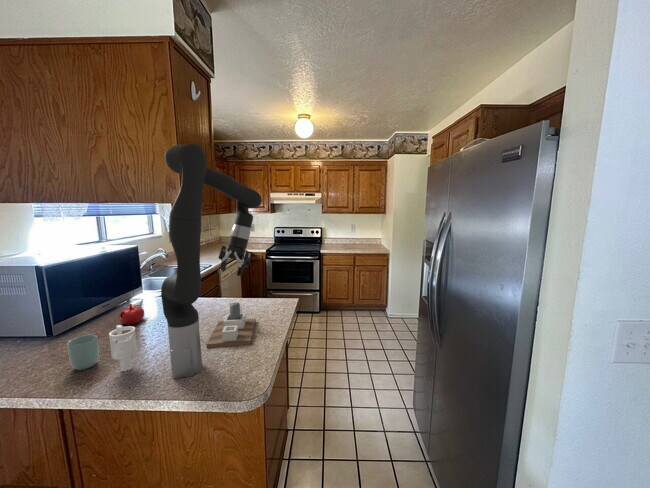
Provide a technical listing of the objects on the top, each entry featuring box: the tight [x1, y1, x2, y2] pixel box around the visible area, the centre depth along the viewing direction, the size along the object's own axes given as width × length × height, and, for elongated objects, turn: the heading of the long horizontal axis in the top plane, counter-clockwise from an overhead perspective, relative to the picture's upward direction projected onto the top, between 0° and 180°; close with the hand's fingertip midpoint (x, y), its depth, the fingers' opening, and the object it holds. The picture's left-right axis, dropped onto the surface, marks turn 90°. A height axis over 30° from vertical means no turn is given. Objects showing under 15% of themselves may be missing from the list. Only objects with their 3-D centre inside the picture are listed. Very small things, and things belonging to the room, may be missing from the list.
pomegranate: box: [118, 303, 145, 326], centre depth 129 cm, size 10×10×9 cm
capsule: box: [229, 302, 241, 320], centre depth 121 cm, size 4×4×10 cm
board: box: [205, 318, 257, 349], centre depth 117 cm, size 22×17×2 cm
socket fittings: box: [222, 312, 247, 341], centre depth 117 cm, size 19×8×4 cm, turn 9°
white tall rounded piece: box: [108, 324, 138, 372], centre depth 91 cm, size 7×7×15 cm
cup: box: [66, 333, 100, 371], centre depth 93 cm, size 8×8×10 cm
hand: (230, 273), depth 113 cm, fingers open, 8 cm apart
